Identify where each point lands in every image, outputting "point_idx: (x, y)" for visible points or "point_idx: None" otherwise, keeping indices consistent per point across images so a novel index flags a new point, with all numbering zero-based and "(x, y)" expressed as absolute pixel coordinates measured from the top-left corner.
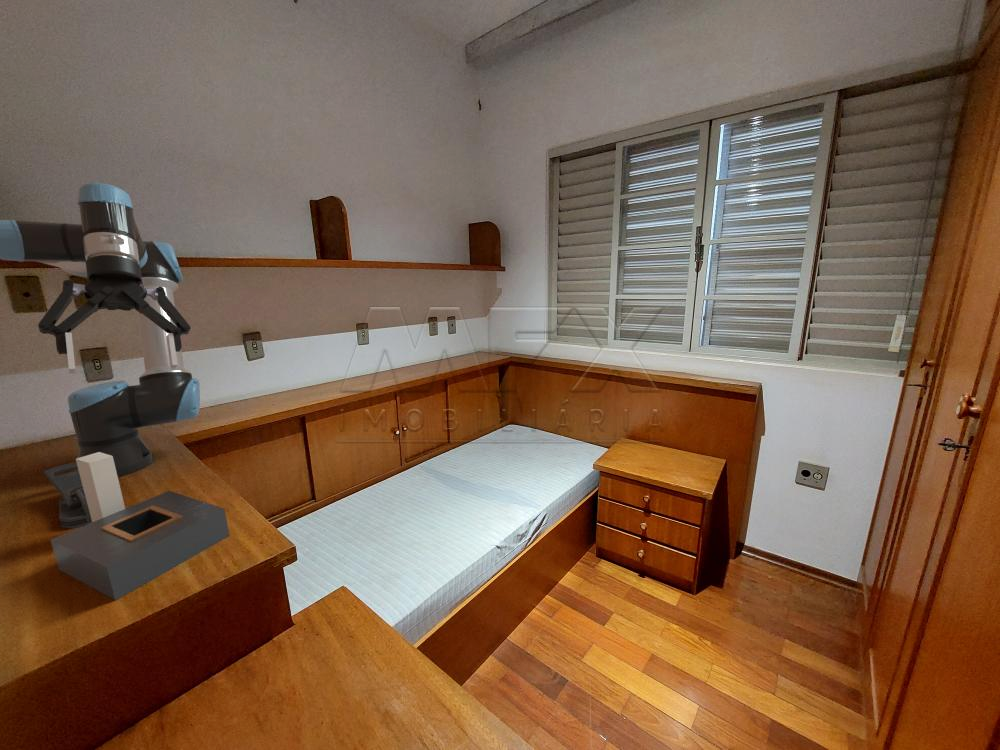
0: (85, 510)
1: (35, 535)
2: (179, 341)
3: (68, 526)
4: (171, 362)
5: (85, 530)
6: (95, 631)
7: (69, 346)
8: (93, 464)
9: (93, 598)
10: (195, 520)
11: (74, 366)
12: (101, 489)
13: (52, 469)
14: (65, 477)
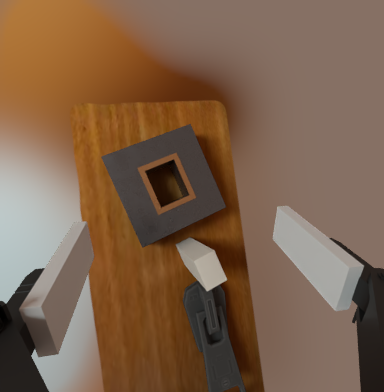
0: None
1: (236, 286)
2: (18, 295)
3: None
4: (86, 238)
5: (205, 204)
6: (192, 108)
7: (320, 237)
8: (210, 251)
9: None
10: (128, 151)
11: (281, 208)
12: (199, 246)
13: None
14: (230, 375)
